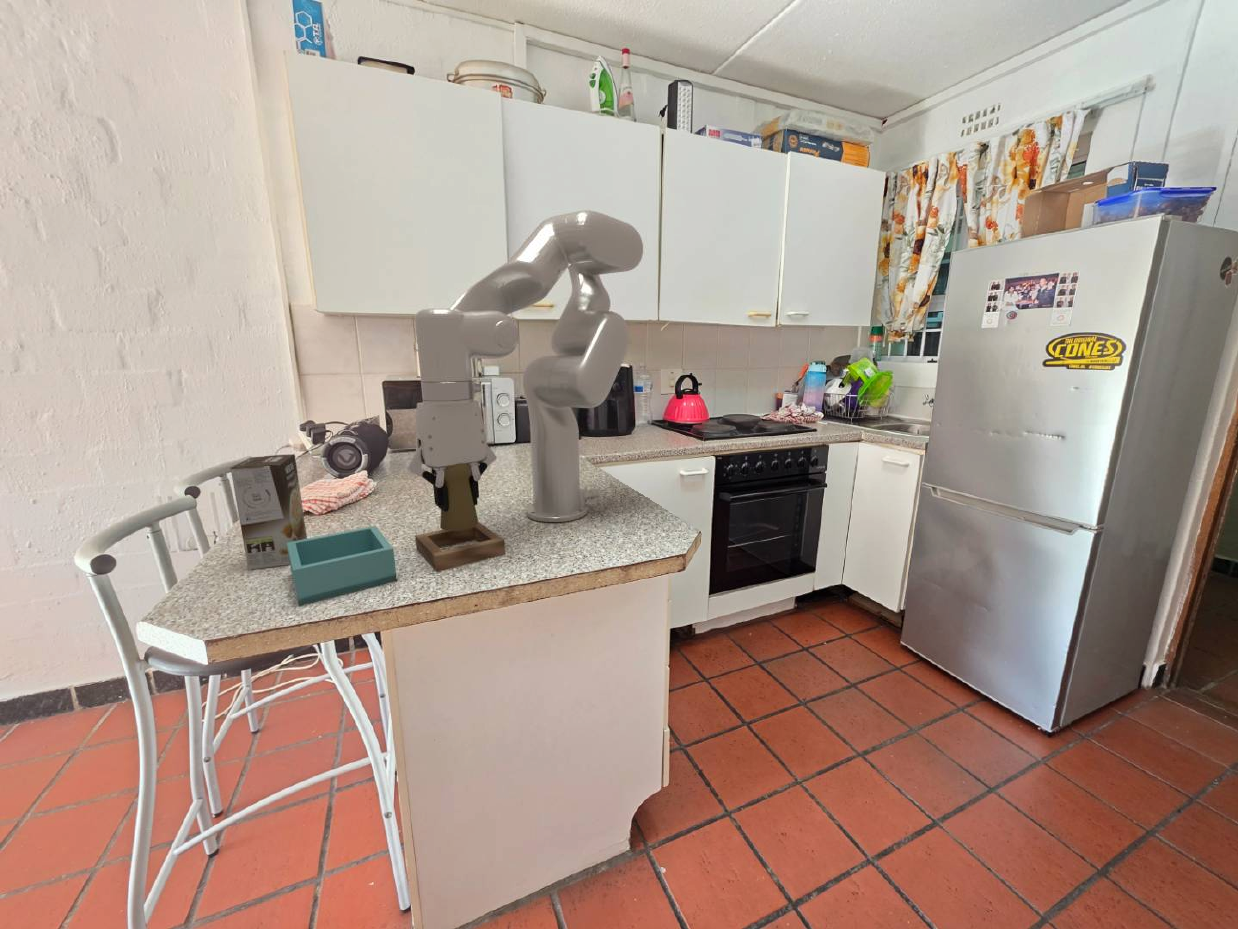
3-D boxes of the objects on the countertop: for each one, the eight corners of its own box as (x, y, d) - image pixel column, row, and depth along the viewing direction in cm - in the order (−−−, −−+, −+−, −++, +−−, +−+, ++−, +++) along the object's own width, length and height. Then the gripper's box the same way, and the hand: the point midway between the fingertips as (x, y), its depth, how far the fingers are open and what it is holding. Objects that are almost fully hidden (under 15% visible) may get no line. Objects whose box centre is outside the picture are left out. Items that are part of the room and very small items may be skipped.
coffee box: (296, 564, 76) (280, 464, 73) (247, 571, 74) (228, 468, 70) (309, 544, 84) (295, 453, 81) (265, 549, 82) (249, 456, 79)
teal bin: (379, 554, 80) (375, 525, 79) (396, 580, 70) (393, 548, 69) (291, 574, 73) (286, 542, 72) (298, 606, 63) (292, 570, 62)
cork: (468, 532, 76) (462, 463, 74) (432, 530, 77) (426, 462, 75) (484, 519, 82) (480, 455, 80) (451, 517, 83) (445, 454, 81)
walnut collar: (479, 535, 88) (478, 522, 88) (505, 554, 80) (504, 540, 79) (416, 549, 82) (415, 535, 81) (436, 572, 73) (435, 556, 73)
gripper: (488, 388, 83) (495, 491, 87) (383, 394, 73) (397, 511, 77) (508, 391, 77) (515, 501, 81) (398, 398, 67) (411, 523, 71)
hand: (457, 505), depth 79 cm, fingers closed on cork, 4 cm apart
